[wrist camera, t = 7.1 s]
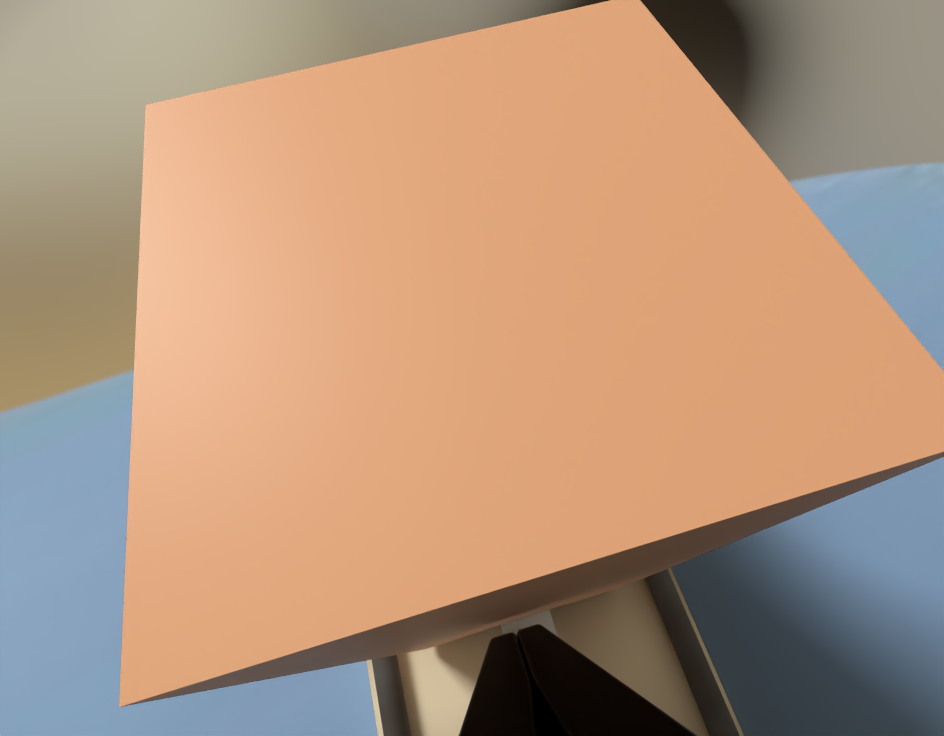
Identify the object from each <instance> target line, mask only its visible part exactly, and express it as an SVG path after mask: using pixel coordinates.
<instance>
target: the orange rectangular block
mask: <svg viewBox="0 0 944 736" xmlns="http://www.w3.org/2000/svg"><path fill="white" fill-rule="evenodd" d="M134 363H135V364H134V385H133V407H132V430H131V453H130V475H129V498H128V521H127V543H126V566H125V589H124V611H123V634H122V657H121V679H120V702H119V707H122V706H127V705H132V704H138V703H143V702H148V701H154V700H159V699H164V698H170V697H175V696H180V695H185V694H191V693H196V692H201V691H207V690H212V689H217V688H223V687H228V686H233V685H239V684H244V683H249V682H254V681H260V680H265V679H270V678H276V677H281V676H286V675H292V674H297V673H302V672H308V671H313V670H318V669H324V668H329V667H334V666H339V665H345V664H350V663H355V662H361V661H366V660H371V659H377V658H382V657H387V656H393V655H398V654H403V653H408V652H414V651H419V650H424V649H428V648H431V647H434V646H437V645H441V644H444V643H447V642H450V641H453V640H456V639H460V638H463V637H466V636H469V635H472V634H476V633H479V632H482V631H485V630H486V629H489V628H492V627H495V626H498V625H502V624H505V623H508V622H511V621H514V620H517V619H521V618H524V617H527V616H530V615H533V614H536V613H540V612H543V611H546V610H549V609H552V608H556V607H559V606H562V605H563V606H564V605H567V604H571V603H574V602H577V601H580V600H583V599H587V598H590V597H593V596H596V595H599V594H602V593H606V592H609V591H612V590H615V589H618V588H621V587H624V586H626V585H628V584H631V583H633V582H636V581H638V580H641V579H643V578H646V577H648V576H651V575H653V574H656V573H658V572H660V571H663V570H665V569H668V568H670V567H673V566H675V565H678V564H680V563H683V562H685V561H688V560H690V559H693V558H695V557H697V556H700V555H702V554H705V553H707V552H710V551H712V550H715V549H717V548H720V547H722V546H725V545H727V544H730V543H732V542H734V541H737V540H739V539H742V538H744V537H747V536H749V535H752V534H754V533H757V532H759V531H762V530H764V529H766V528H769V527H771V526H774V525H776V524H779V523H781V522H784V521H786V520H789V519H791V518H794V517H796V516H799V515H801V514H803V513H806V512H808V511H811V510H813V509H816V508H818V507H821V506H823V505H826V504H828V503H831V502H833V501H836V500H838V499H840V498H843V497H845V496H848V495H850V494H853V493H855V492H858V491H860V490H863V489H865V488H868V487H870V486H872V485H875V484H877V483H880V482H882V481H885V480H887V479H890V478H892V477H895V476H897V475H900V474H902V473H905V472H907V471H909V470H912V469H914V468H917V467H919V466H922V465H924V464H927V463H929V462H932V461H934V460H937V459H939V458H942V457H944V371H943V370H942V369H941V368H940V366H939V365H938V364H937V363H936V361H935V360H934V359H933V358H932V357H931V355H930V354H929V353H928V352H927V350H926V349H925V348H924V347H923V346H922V344H921V343H920V342H919V341H918V339H917V338H916V337H915V336H914V335H913V333H912V332H911V331H910V330H909V328H908V327H907V326H906V325H905V324H904V322H903V321H902V320H901V319H900V317H899V316H898V315H897V314H896V313H895V311H894V310H893V309H892V308H891V306H890V305H889V304H888V303H887V302H886V300H885V299H884V298H883V297H882V295H881V294H880V293H879V292H878V291H877V289H876V288H875V287H874V286H873V284H872V283H871V282H870V281H869V280H868V278H867V277H866V276H865V275H864V273H863V272H862V271H861V270H860V269H859V267H858V266H857V265H856V264H855V262H854V261H853V260H852V259H851V258H850V256H849V255H848V254H847V253H846V251H845V250H844V249H843V248H842V247H841V245H840V244H839V243H838V242H837V240H836V239H835V238H834V237H833V236H832V234H831V233H830V232H829V231H828V229H827V228H826V227H825V226H824V225H823V223H822V222H821V221H820V220H819V218H818V217H817V216H816V215H815V214H814V212H813V211H812V210H811V209H810V207H809V206H808V205H807V204H806V203H805V201H804V200H803V199H802V198H801V196H800V195H799V194H798V193H797V191H796V190H795V189H794V188H793V187H792V185H791V184H790V183H789V182H788V180H787V179H786V178H785V177H784V176H783V175H782V173H781V172H780V171H779V169H778V168H777V167H776V166H775V165H774V163H773V162H772V161H771V160H770V159H769V157H768V156H767V155H766V154H765V152H764V151H763V150H762V149H761V147H760V146H759V145H758V144H757V143H756V142H755V140H754V139H753V138H752V136H751V135H750V134H749V133H748V132H747V130H746V129H745V128H744V127H743V125H742V124H741V123H740V122H739V121H738V119H737V118H736V117H735V116H734V114H733V113H732V112H731V111H730V110H729V108H728V107H727V106H726V105H725V104H724V102H723V101H722V100H721V99H720V98H719V96H718V95H717V94H716V93H715V91H714V90H713V89H712V88H711V86H710V85H709V84H708V83H707V81H706V80H705V79H704V78H703V77H702V76H701V74H700V73H699V72H698V70H697V69H696V68H695V67H694V66H693V64H692V63H691V62H690V61H689V60H688V58H687V57H686V56H685V55H684V53H682V51H681V50H680V48H679V47H678V46H677V45H676V44H675V43H674V41H673V40H672V39H671V37H670V36H669V35H668V34H667V33H666V31H665V30H664V29H663V28H662V26H661V25H660V24H659V23H658V22H657V20H656V19H655V18H654V17H653V16H652V15H651V13H650V12H649V11H648V9H647V8H646V7H645V6H644V4H643V3H642V2H641V1H640V0H611V1H606V2H602V3H598V4H593V5H588V6H584V7H580V8H576V9H571V10H566V11H562V12H557V13H553V14H548V15H544V16H540V17H535V18H531V19H527V20H522V21H518V22H513V23H508V24H504V25H500V26H495V27H491V28H486V29H482V30H477V31H473V32H469V33H464V34H459V35H455V36H451V37H446V38H441V39H437V40H433V41H429V42H424V43H419V44H415V45H411V46H406V47H402V48H397V49H393V50H388V51H384V52H379V53H375V54H371V55H366V56H361V57H357V58H352V59H348V60H344V61H339V62H335V63H330V64H326V65H321V66H317V67H312V68H308V69H303V70H299V71H295V72H290V73H286V74H281V75H277V76H272V77H268V78H264V79H259V80H255V81H250V82H246V83H241V84H237V85H232V86H228V87H223V88H219V89H214V90H210V91H205V92H202V93H197V94H193V95H188V96H183V97H179V98H174V99H170V100H165V101H161V102H156V103H152V104H148V105H146V114H145V136H144V158H143V182H142V204H141V226H140V250H139V273H138V295H137V317H136V341H135V362H134Z"/></svg>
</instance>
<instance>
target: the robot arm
mask: <svg viewBox="0 0 944 736" xmlns="http://www.w3.org/2000/svg"><path fill="white" fill-rule="evenodd" d="M459 736H697V735H696V734H694V733H693V732H692V731H690V730H689V729H687V728H686V727H685V726H683V725H682V724H680V723H679V722H677V721H676V720H675V719H673V718H672V717H670V716H669V715H668V714H666V713H665V712H663V711H662V710H661V709H659V708H658V707H656V706H655V705H654V704H652V703H651V702H649V701H648V700H646V699H645V698H644V697H642V696H641V695H639V694H638V693H637V692H635V691H634V690H632V689H631V688H630V687H628V686H627V685H625V684H624V683H623V682H621V681H620V680H618V679H617V678H615V677H614V676H613V675H611V674H610V673H608V672H607V671H606V670H604V669H603V668H601V667H600V666H599V665H597V664H596V663H594V662H593V661H592V660H590V659H589V658H587V657H586V656H584V655H583V654H582V653H580V652H579V651H577V650H576V649H575V648H573V647H572V646H570V645H569V644H568V643H566V642H565V641H563V640H562V639H561V638H559V637H558V636H556V635H555V634H554V633H552V632H551V631H549V630H548V629H546V628H545V627H544V626H542V625H540V624H535V625H532V626H529V627H526V628H522V629H519V630H518V631H517V637H516V634H515V633H513V632H509V633H506V634H503V635H500V636H496V637H493V638H492V639H491V640H490V642H489V645H488V648H487V651H486V654H485V657H484V660H483V663H482V666H481V669H480V672H479V675H478V678H477V681H476V684H475V687H474V690H473V693H472V697H471V700H470V703H469V706H468V709H467V712H466V715H465V718H464V721H463V724H462V727H461V730H460V733H459Z"/></svg>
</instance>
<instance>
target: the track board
mask: <svg viewBox="0 0 944 736" xmlns="http://www.w3.org/2000/svg"><path fill="white" fill-rule="evenodd" d="M549 610H550V613H551V616H552V619H553V623H554V626H555V629H556V632H557V635H558V637H559V638H561V639H562V640H563V641H565V642H566V643H568V644H569V645H570V646H572V647H573V648H575V649H576V650H577V651H579V652H580V653H582V654H583V655H584V656H586V657H587V658H589V659H590V660H592V661H593V662H594V663H596V664H597V665H599V666H600V667H601V668H603V669H604V670H606V671H607V672H608V673H610V674H611V675H613V676H614V677H615V678H617V679H618V680H620V681H621V682H623V683H624V684H625V685H627V686H628V687H630V688H631V689H632V690H634V691H635V692H637V693H638V694H639V695H641V696H642V697H644V698H645V699H646V700H648V701H649V702H651V703H652V704H654V705H655V706H656V707H658V708H659V709H661V710H662V711H663V712H665V713H666V714H668V715H669V716H670V717H672V718H673V719H675V720H676V721H677V722H679V723H680V724H682V725H683V726H685V727H686V728H687V729H689V730H690V731H692V732H693V733H694V734H696V735H697V736H744V734H743V732H742V730H741V727H740V725H739V723H738V720H737V718H736V716H735V714H734V711H733V709H732V707H731V704H730V702H729V700H728V698H727V695H726V693H725V691H724V688H723V686H722V684H721V682H720V679H719V677H718V675H717V672H716V670H715V668H714V665H713V663H712V661H711V659H710V656H709V654H708V652H707V649H706V647H705V645H704V643H703V640H702V638H701V636H700V633H699V631H698V629H697V626H696V624H695V622H694V620H693V617H692V615H691V613H690V610H689V608H688V606H687V604H686V601H685V599H684V597H683V594H682V592H681V590H680V588H679V585H678V583H677V581H676V578H675V576H674V574H673V571H672V569H671V567H670V568H668V569H665V570H663V571H660V572H658V573H656V574H653V575H651V576H648V577H646V578H643V579H641V580H638V581H636V582H633V583H631V584H628V585H626V586H624V587H621V588H618V589H615V590H612V591H609V592H606V593H602V594H599V595H596V596H593V597H590V598H587V599H583V600H580V601H577V602H574V603H571V604H567V605H564V606H563V605H562V606H559V607H556V608H552V609H549ZM500 635H503V633H502V629H501V626H500V625H498V626H495V627H492V628H489V629H486V630H485V631H482V632H479V633H476V634H472V635H469V636H466V637H463V638H460V639H456V640H453V641H450V642H447V643H444V644H441V645H437V646H434V647H431V648H428V649H424V650H419V651H414V652H408V653H403V654H398V655H393V656H387V657H382V658H377V659H371V660H367V666H368V673H369V679H370V686H371V692H372V698H373V705H374V711H375V718H376V724H377V731H378V736H459V733H460V730H461V727H462V724H463V721H464V718H465V715H466V712H467V709H468V706H469V703H470V700H471V697H472V693H473V690H474V687H475V684H476V681H477V678H478V675H479V672H480V669H481V666H482V663H483V660H484V657H485V654H486V651H487V648H488V645H489V642H490V640H491V639H492V638H493V637H496V636H500Z"/></svg>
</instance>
